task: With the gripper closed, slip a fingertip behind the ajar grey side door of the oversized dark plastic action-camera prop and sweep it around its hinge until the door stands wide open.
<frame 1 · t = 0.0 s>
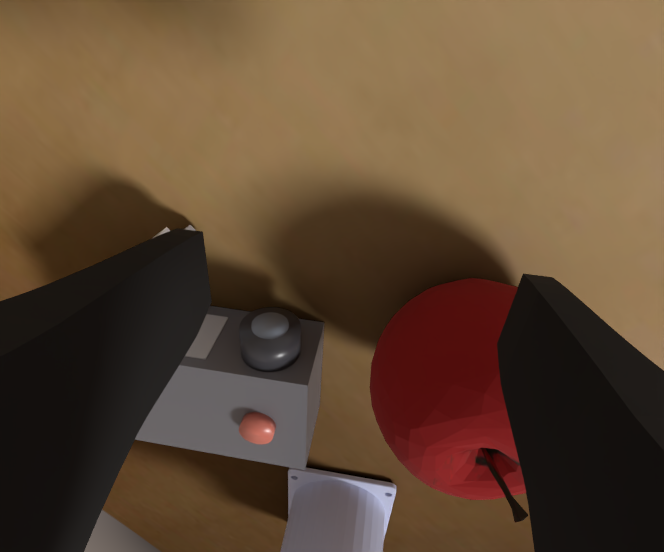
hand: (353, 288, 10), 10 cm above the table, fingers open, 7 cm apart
door: (127, 279, 22), point 2 cm above the table, hinge at 40.0°
apple: (465, 319, 23), on the table
camera body: (225, 351, 27), on the table
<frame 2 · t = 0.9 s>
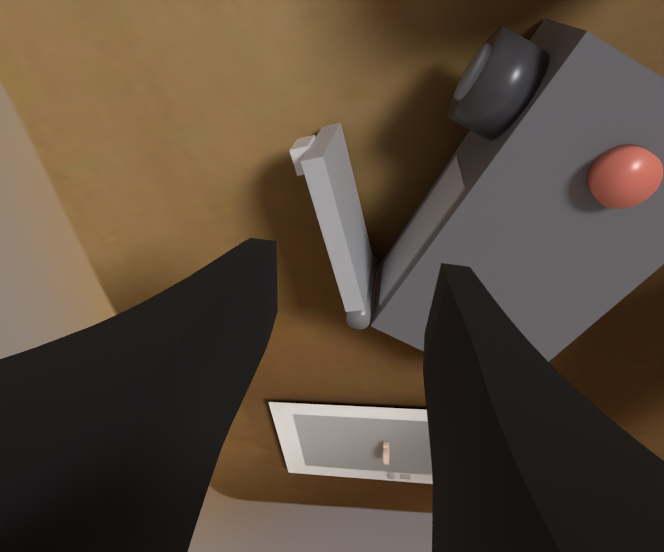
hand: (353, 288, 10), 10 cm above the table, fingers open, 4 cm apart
touchpad: (387, 430, 30), on the table
door: (339, 226, 18), point 2 cm above the table, hinge at 40.0°
camera body: (515, 202, 19), on the table
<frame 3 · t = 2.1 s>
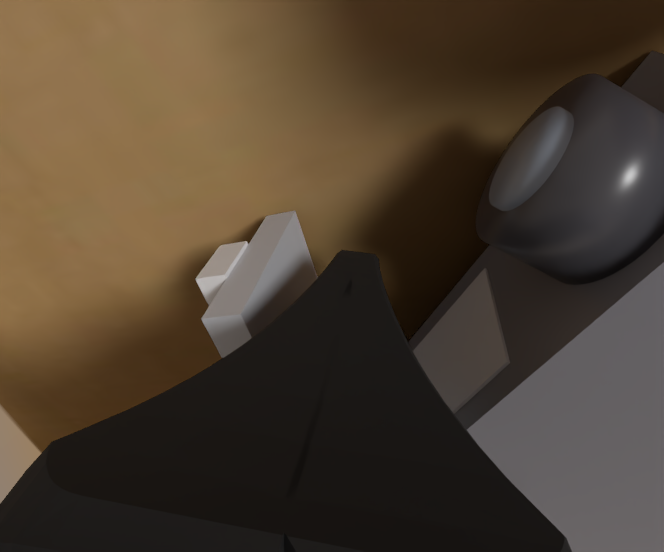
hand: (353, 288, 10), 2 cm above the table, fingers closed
door: (296, 370, 12), point 2 cm above the table, hinge at 40.5°, touching gripper
camera body: (572, 327, 12), on the table
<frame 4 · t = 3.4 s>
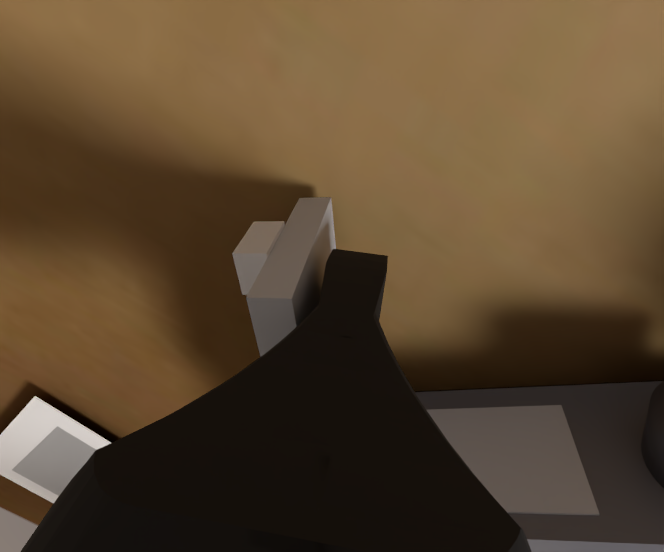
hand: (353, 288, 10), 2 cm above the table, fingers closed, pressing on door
touchpad: (157, 488, 22), on the table
door: (305, 360, 11), point 2 cm above the table, hinge at 81.4°, touching gripper
camera body: (528, 455, 15), on the table
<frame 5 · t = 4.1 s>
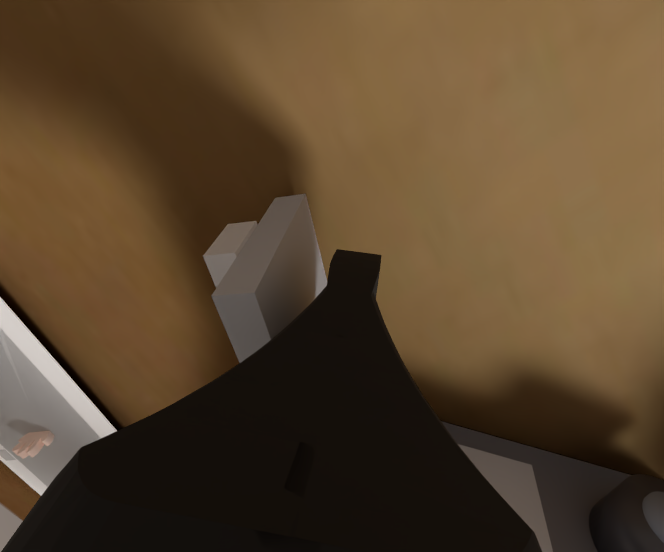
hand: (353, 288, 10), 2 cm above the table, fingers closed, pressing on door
touchpad: (61, 409, 20), on the table
door: (297, 358, 11), point 2 cm above the table, hinge at 114.7°, touching gripper
camera body: (464, 490, 17), on the table
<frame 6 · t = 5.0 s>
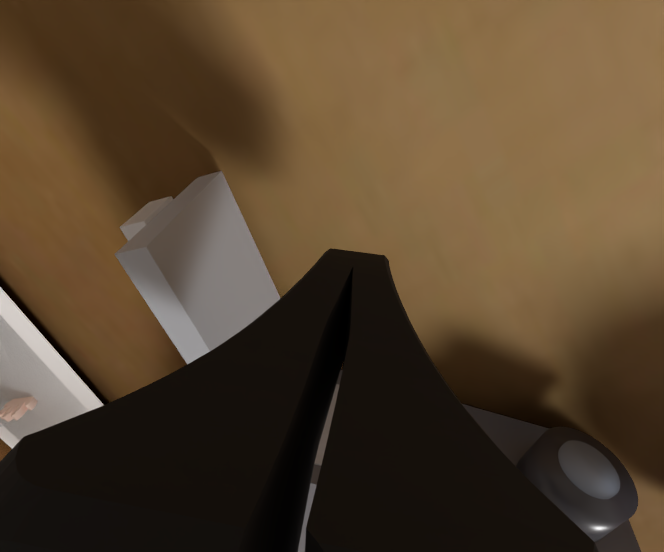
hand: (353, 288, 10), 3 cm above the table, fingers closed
touchpad: (44, 378, 21), on the table
door: (231, 318, 13), point 2 cm above the table, hinge at 121.1°
camera body: (415, 450, 19), on the table
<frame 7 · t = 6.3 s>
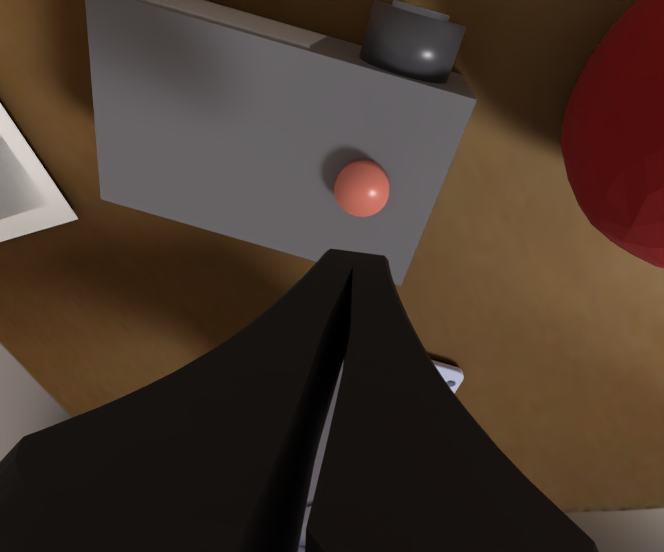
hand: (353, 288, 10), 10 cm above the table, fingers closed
camera body: (294, 122, 19), on the table
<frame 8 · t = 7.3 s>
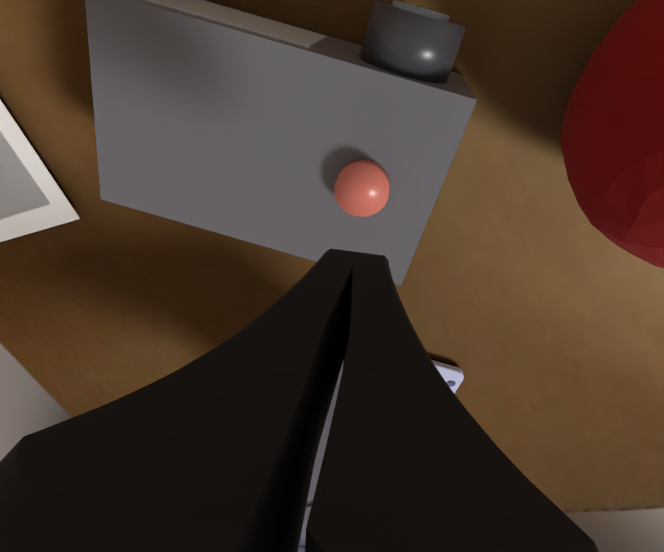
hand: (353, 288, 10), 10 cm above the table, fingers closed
camera body: (294, 122, 19), on the table
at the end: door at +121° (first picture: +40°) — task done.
